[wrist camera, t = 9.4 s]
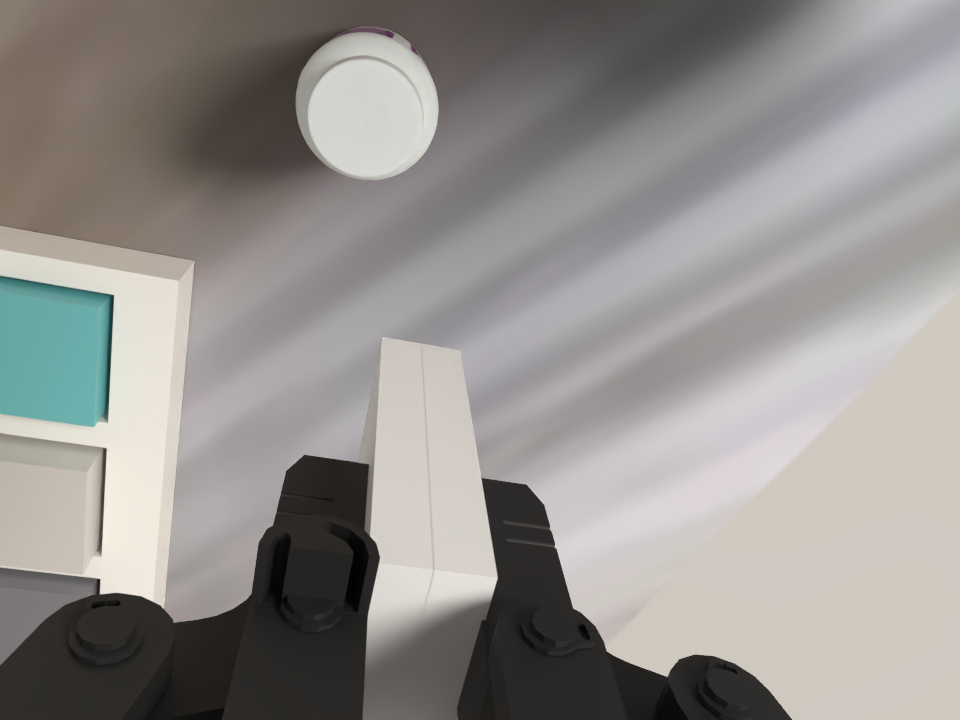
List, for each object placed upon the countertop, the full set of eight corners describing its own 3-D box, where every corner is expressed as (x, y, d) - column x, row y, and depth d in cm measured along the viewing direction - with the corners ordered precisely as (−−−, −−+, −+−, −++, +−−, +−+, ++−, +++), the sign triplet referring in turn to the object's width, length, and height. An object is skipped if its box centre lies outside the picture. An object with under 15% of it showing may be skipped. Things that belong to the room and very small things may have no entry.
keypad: (194, 260, 39) (178, 280, 36) (160, 654, 48) (145, 693, 45) (-78, 211, 37) (-117, 228, 34) (-58, 632, 46) (-86, 672, 43)
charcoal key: (106, 558, 44) (87, 596, 41) (102, 642, 46) (83, 683, 43) (-12, 545, 43) (-40, 582, 40) (-10, 631, 45) (-37, 672, 42)
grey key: (108, 440, 40) (87, 472, 37) (103, 537, 42) (82, 574, 40) (-22, 421, 39) (-53, 453, 36) (-19, 522, 41) (-49, 559, 39)
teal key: (120, 285, 38) (99, 308, 35) (115, 398, 40) (94, 427, 37) (-17, 261, 37) (-51, 283, 34) (-15, 378, 39) (-46, 407, 36)
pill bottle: (294, 119, 36) (260, 158, 28) (338, 3, 35) (317, 5, 26) (404, 169, 38) (404, 222, 29) (452, 61, 36) (468, 81, 27)
